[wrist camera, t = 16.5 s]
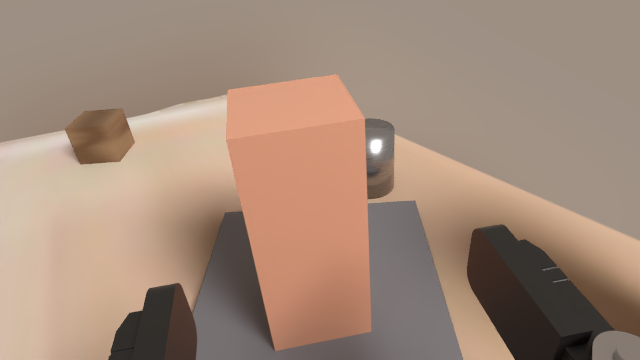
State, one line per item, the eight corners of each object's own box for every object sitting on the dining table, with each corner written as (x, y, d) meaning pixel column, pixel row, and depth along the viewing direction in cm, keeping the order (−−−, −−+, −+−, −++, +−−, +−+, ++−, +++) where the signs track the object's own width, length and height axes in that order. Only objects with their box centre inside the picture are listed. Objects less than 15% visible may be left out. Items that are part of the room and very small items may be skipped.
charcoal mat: (142, 504, 17) (135, 494, 17) (227, 223, 32) (225, 212, 32) (497, 495, 16) (500, 484, 16) (414, 211, 32) (415, 200, 31)
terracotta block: (275, 351, 21) (226, 139, 15) (268, 279, 26) (227, 89, 19) (371, 331, 22) (364, 118, 15) (349, 264, 26) (336, 74, 20)
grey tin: (345, 200, 33) (342, 144, 31) (343, 173, 37) (340, 120, 34) (397, 197, 33) (397, 140, 31) (390, 170, 37) (390, 116, 34)
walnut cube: (81, 165, 42) (64, 128, 40) (98, 145, 46) (84, 111, 44) (120, 162, 42) (105, 125, 40) (135, 143, 46) (122, 108, 43)
